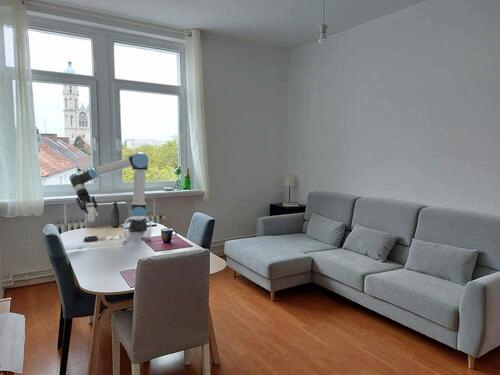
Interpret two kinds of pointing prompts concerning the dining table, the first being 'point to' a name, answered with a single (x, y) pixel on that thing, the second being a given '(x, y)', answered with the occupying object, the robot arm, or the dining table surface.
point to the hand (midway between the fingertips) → (93, 215)
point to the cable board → (95, 238)
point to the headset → (126, 231)
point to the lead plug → (91, 211)
